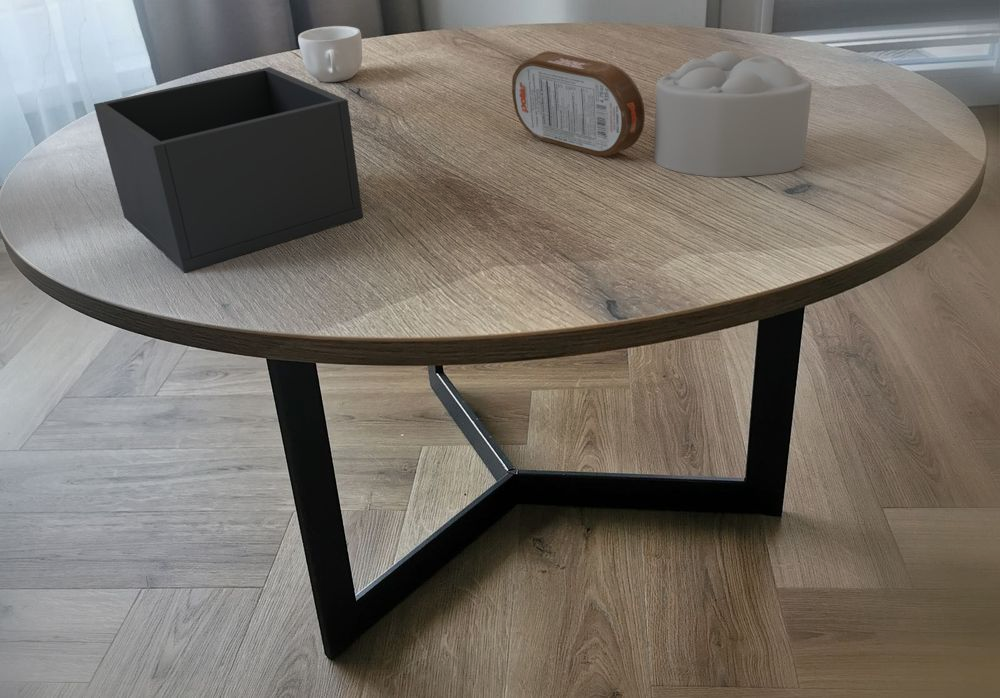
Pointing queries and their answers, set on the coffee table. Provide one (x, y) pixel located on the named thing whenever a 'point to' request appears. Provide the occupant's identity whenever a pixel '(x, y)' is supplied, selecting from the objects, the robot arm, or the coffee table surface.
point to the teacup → (331, 52)
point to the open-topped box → (231, 164)
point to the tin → (578, 103)
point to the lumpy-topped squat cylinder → (732, 117)
